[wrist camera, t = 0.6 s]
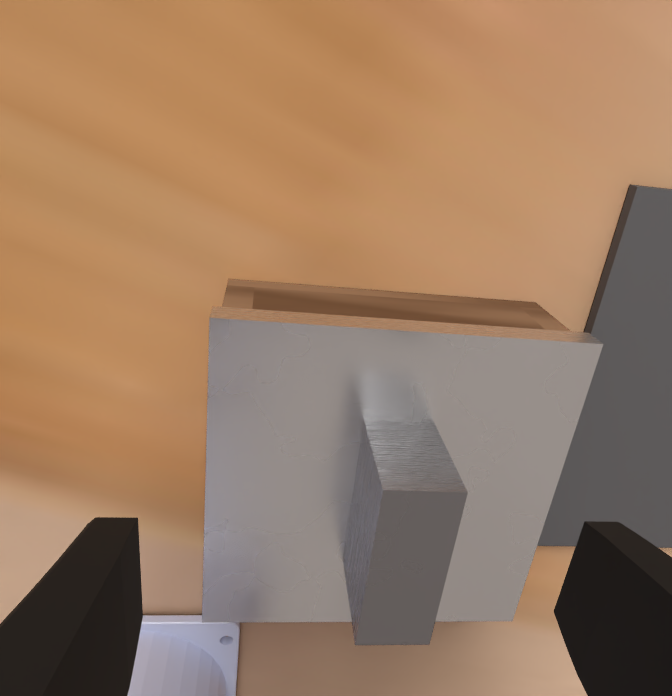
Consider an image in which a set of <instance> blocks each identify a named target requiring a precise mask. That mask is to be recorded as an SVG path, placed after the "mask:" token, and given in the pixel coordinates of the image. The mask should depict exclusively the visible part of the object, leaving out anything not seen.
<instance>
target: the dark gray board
mask: <svg viewBox="0 0 672 696" xmlns="http://www.w3.org/2000/svg"><path fill="white" fill-rule="evenodd" d="M584 332H586V333H590V334H591V335H592V336H594V337H595V338H596V339H597V340H599V341H600V342H601V343H603V347H602V350H601V353H600V356H599V359H598V362H597V365H596V368H595V371H594V374H593V377H592V380H591V383H590V387H589V390H588V393H587V396H586V399H585V402H584V405H583V408H582V411H581V414H580V417H579V420H578V423H577V426H576V429H575V432H574V435H573V438H572V441H571V444H570V447H569V450H568V453H567V456H566V459H565V462H564V466H563V469H562V472H561V475H560V478H559V481H558V484H557V487H556V490H555V493H554V496H553V499H552V502H551V505H550V508H549V511H548V514H547V517H546V520H545V523H544V526H543V529H542V532H541V535H540V538H539V541H538V545H537V546H576V545H577V542H578V539H579V536H580V533H581V530H582V527H583V524H584V521H596V522H620V523H621V524H623V525H624V526H626V527H628V528H629V529H631V530H632V531H634V532H635V533H637V534H638V535H640V536H641V537H643V538H644V539H646V540H647V541H649V542H650V543H652V544H653V545H655V546H656V547H662V548H672V189H665V188H656V187H647V186H638V185H630V186H629V190H628V193H627V196H626V199H625V202H624V206H623V209H622V212H621V215H620V218H619V222H618V225H617V228H616V231H615V234H614V238H613V241H612V244H611V247H610V251H609V254H608V257H607V260H606V263H605V267H604V270H603V273H602V276H601V279H600V283H599V286H598V289H597V292H596V296H595V299H594V302H593V305H592V308H591V312H590V315H589V318H588V321H587V324H586V328H585V331H584Z"/></svg>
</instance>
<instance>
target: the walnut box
mask: <svg viewBox="0 0 672 696" xmlns="http://www.w3.org/2000/svg"><path fill="white" fill-rule="evenodd" d="M222 307H230V308H244V309H258V310H273V311H287V312H301V313H315V314H330V315H344V316H358V317H372V318H387V319H401V320H415V321H429V322H444V323H458V324H472V325H487V326H501V327H515V328H529V329H544V330H558V331H570V330H569V329H567V328H566V327H565V326H564V325H563V324H561V323H560V322H559V321H558V320H556V319H555V318H554V317H553V316H552V315H550V314H549V313H548V312H547V311H545V310H544V309H543V308H542V307H541V306H539V305H538V304H537V303H535V302H522V301H509V300H496V299H483V298H470V297H457V296H444V295H431V294H418V293H405V292H392V291H379V290H366V289H353V288H340V287H327V286H314V285H301V284H288V283H275V282H262V281H249V280H236V279H228V284H227V288H226V292H225V297H224V301H223V305H222Z"/></svg>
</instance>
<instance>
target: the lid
mask: <svg viewBox="0 0 672 696" xmlns="http://www.w3.org/2000/svg"><path fill="white" fill-rule="evenodd" d="M602 347H603V343H601V342H600V341H599V340H597V339H596V338H595V337H594V336H592V335H591V334H590V333H586V332H572V331H558V330H544V329H529V328H515V327H501V326H487V325H472V324H458V323H444V322H429V321H415V320H401V319H387V318H372V317H358V316H344V315H330V314H315V313H301V312H287V311H273V310H258V309H244V308H230V307H216V306H213V307H212V311H211V315H210V323H209V363H208V403H207V443H206V483H205V523H204V563H203V603H202V623H216V622H352V626H353V633H354V640H355V645H427V644H430V640H431V636H432V632H433V628H434V624H435V622H452V621H512V620H513V617H514V614H515V611H516V608H517V605H518V602H519V599H520V596H521V593H522V590H523V587H524V584H525V581H526V578H527V575H528V572H529V569H530V566H531V563H532V560H533V557H534V554H535V551H536V548H537V545H538V541H539V538H540V535H541V532H542V529H543V526H544V523H545V520H546V517H547V514H548V511H549V508H550V505H551V502H552V499H553V496H554V493H555V490H556V487H557V484H558V481H559V478H560V475H561V472H562V469H563V466H564V462H565V459H566V456H567V453H568V450H569V447H570V444H571V441H572V438H573V435H574V432H575V429H576V426H577V423H578V420H579V417H580V414H581V411H582V408H583V405H584V402H585V399H586V396H587V393H588V390H589V387H590V383H591V380H592V377H593V374H594V371H595V368H596V365H597V362H598V359H599V356H600V353H601V350H602Z"/></svg>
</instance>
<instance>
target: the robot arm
mask: <svg viewBox="0 0 672 696" xmlns="http://www.w3.org/2000/svg"><path fill="white" fill-rule="evenodd" d="M554 613H555V616H556V619H557V622H558V624H559V627H560V630H561V633H562V636H563V639H564V641H565V644H566V647H567V649H568V652H569V654H570V657H571V660H572V662H573V665H574V667H575V670H576V672H577V675H578V677H579V679H580V681H581V683H582V685H583V687H584V689H585V691H586V693H587V695H588V696H672V557H670V556H669V555H667V554H666V553H665V552H663V551H662V550H660V549H659V548H657V547H656V546H655V545H653V544H652V543H650V542H649V541H647V540H646V539H644V538H643V537H641V536H640V535H638V534H637V533H635V532H634V531H632V530H631V529H629V528H628V527H626V526H624V525H623V524H621V523H620V522H596V521H584V524H583V527H582V530H581V533H580V536H579V539H578V542H577V545H576V548H575V551H574V554H573V557H572V559H571V562H570V565H569V568H568V571H567V574H566V577H565V580H564V583H563V586H562V589H561V592H560V595H559V598H558V600H557V603H556V606H555V609H554ZM239 633H240V622H216V623H202V615H143V611H142V591H141V571H140V551H139V531H138V518H94V519H93V520H92V521H91V522H90V523H88V524H87V526H86V527H85V528H84V529H83V530H82V532H81V533H80V534H79V535H78V537H77V538H76V539H75V540H74V541H73V542H72V544H71V545H70V546H69V547H68V548H67V550H66V551H65V552H64V553H63V554H62V556H61V557H60V558H59V559H58V560H57V561H56V563H55V564H54V565H53V566H52V567H51V568H50V570H49V571H48V572H47V573H46V574H45V575H44V576H43V578H42V579H41V580H40V581H39V582H38V583H37V584H36V585H35V587H34V588H33V589H32V590H31V591H30V592H29V593H28V594H27V596H26V597H25V598H24V599H23V600H22V601H21V602H20V603H19V604H18V605H17V606H16V607H15V609H14V610H13V611H12V612H11V613H10V614H9V615H8V616H7V617H6V618H5V619H4V620H3V622H2V623H1V624H0V696H236V681H237V665H238V649H239Z"/></svg>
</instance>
